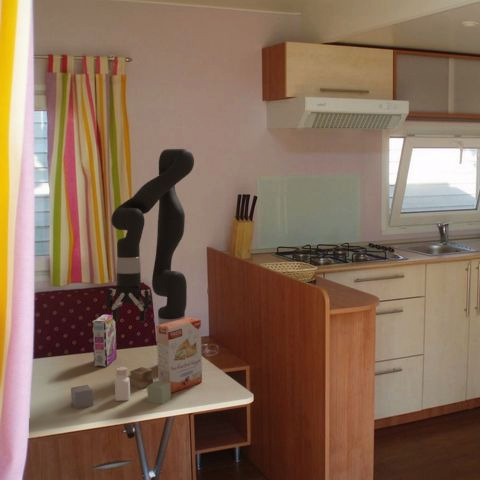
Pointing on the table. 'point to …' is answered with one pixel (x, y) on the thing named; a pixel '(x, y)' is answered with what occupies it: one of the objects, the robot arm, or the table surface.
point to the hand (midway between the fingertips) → (129, 321)
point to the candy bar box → (104, 340)
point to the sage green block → (159, 392)
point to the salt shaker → (122, 385)
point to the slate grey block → (81, 396)
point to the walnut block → (141, 377)
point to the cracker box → (179, 353)
